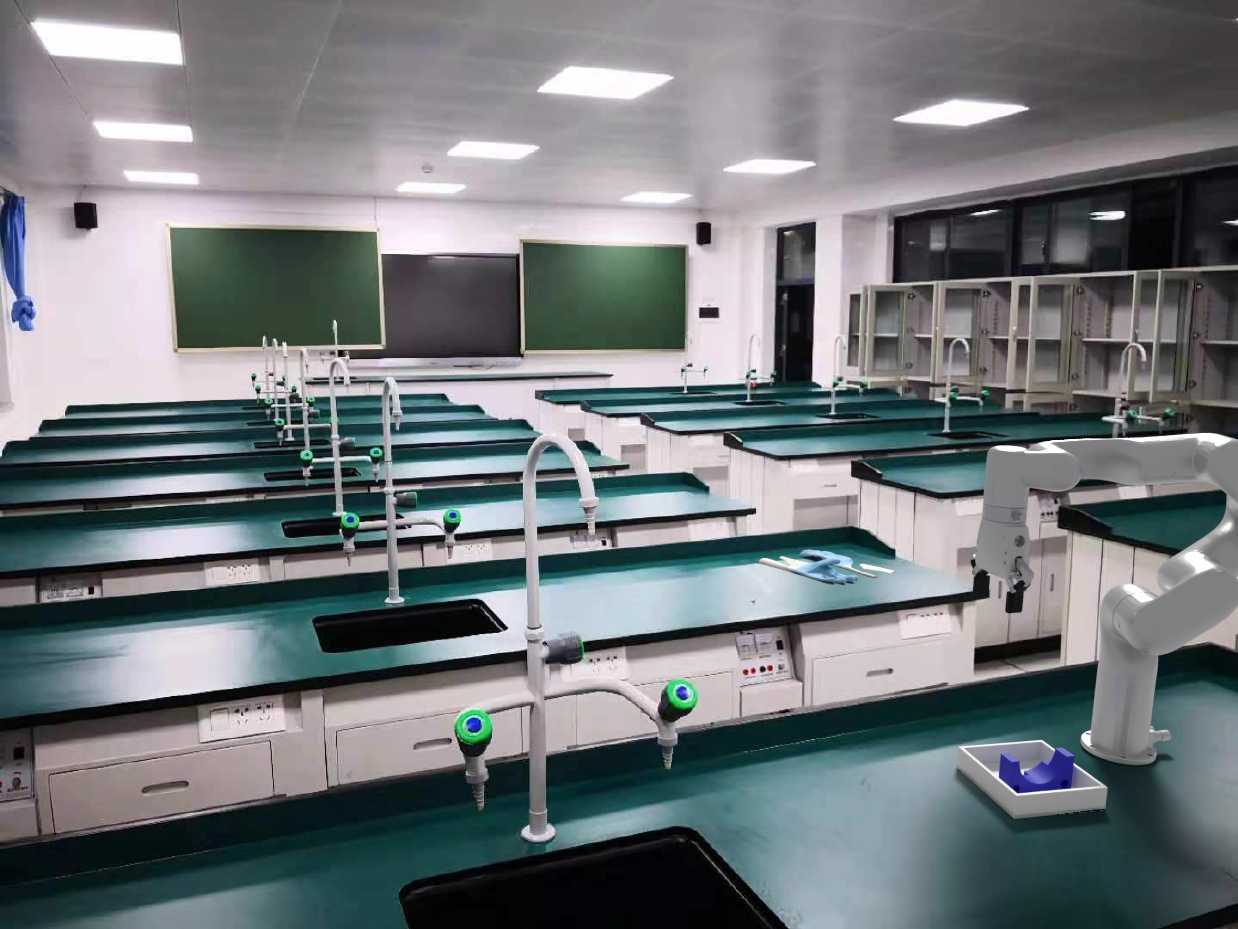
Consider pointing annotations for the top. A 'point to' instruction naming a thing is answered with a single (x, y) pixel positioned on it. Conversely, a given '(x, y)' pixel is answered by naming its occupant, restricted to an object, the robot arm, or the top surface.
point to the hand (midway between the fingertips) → (996, 604)
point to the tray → (985, 765)
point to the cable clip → (1038, 773)
